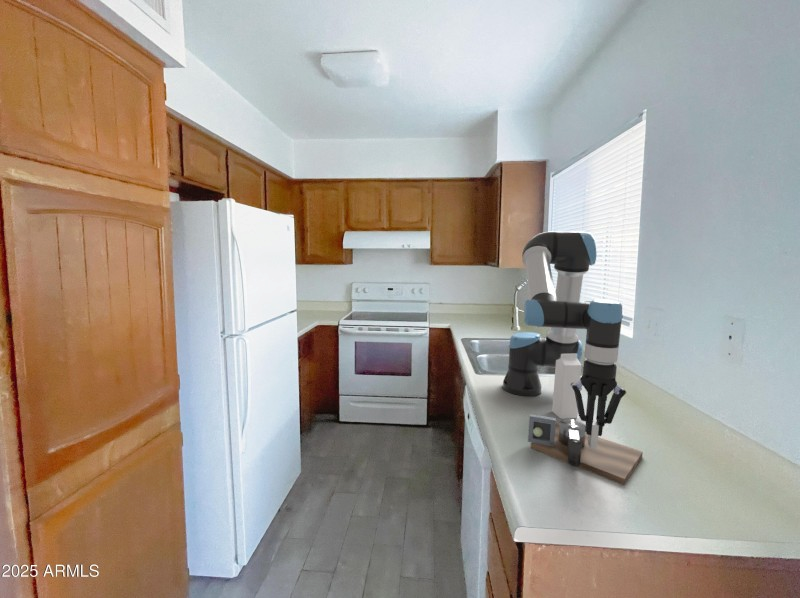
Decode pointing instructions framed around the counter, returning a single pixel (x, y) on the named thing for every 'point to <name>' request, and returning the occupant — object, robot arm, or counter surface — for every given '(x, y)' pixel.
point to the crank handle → (572, 439)
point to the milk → (566, 386)
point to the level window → (541, 430)
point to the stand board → (598, 457)
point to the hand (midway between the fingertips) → (592, 445)
